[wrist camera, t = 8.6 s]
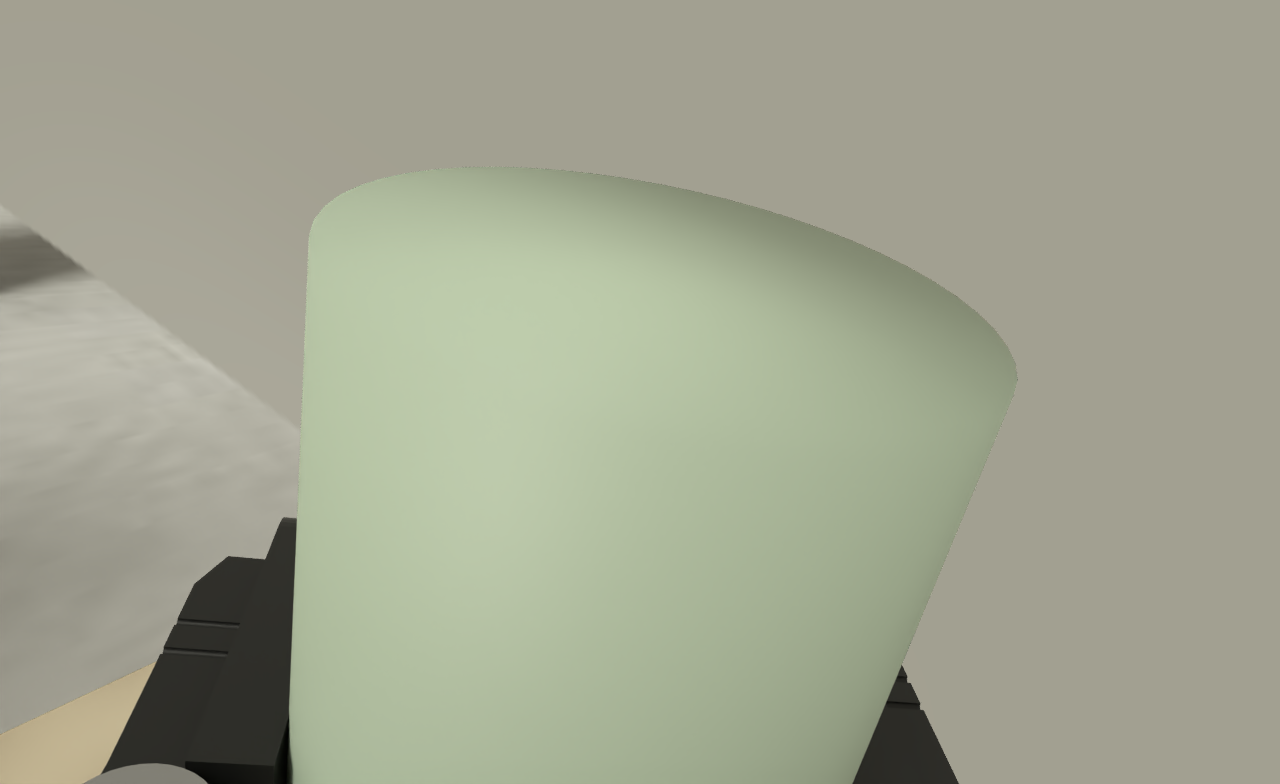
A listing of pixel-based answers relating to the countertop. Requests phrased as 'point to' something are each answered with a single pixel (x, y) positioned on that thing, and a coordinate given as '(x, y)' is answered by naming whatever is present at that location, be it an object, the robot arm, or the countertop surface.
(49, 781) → the beech brick
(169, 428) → the countertop surface
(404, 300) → the sage cylinder
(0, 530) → the countertop surface
